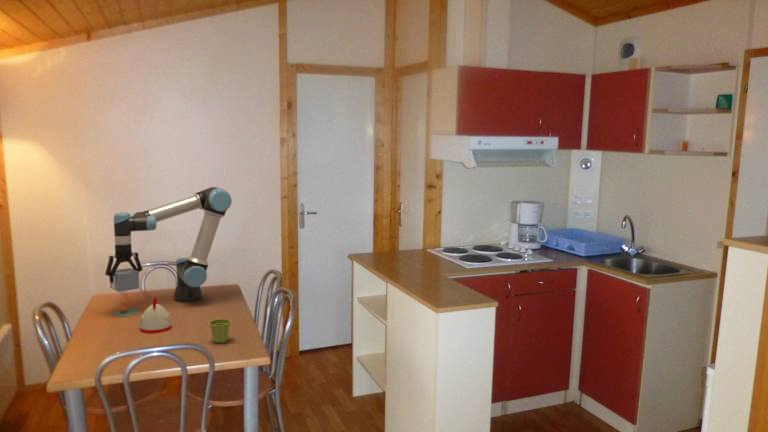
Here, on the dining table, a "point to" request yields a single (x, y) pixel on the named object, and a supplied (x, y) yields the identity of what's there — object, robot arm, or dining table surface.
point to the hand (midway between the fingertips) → (124, 286)
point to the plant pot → (220, 329)
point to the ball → (123, 307)
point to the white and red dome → (155, 319)
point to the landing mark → (126, 313)
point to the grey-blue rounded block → (126, 279)
